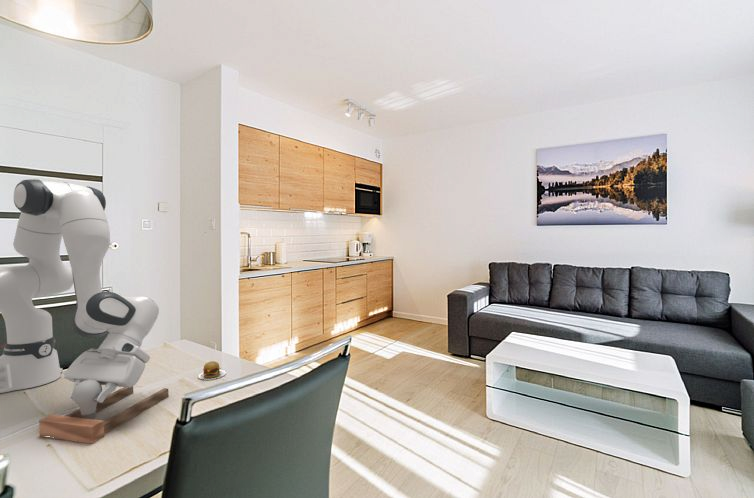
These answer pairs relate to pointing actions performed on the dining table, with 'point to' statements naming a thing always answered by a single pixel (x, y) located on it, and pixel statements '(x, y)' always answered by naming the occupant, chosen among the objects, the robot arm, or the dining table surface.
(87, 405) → the lightbulb
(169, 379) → the dining table surface
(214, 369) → the hamburger
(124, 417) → the guide track
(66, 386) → the dining table surface
